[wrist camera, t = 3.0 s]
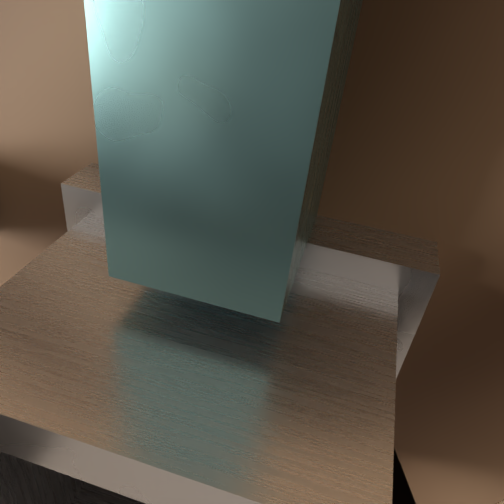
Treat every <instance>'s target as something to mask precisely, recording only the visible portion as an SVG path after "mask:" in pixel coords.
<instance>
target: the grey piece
mask: <svg viewBox="0 0 504 504" xmlns="http://www.w3.org/2000/svg"><path fill="white" fill-rule="evenodd" d="M362 1H363V0H84V6H85V17H86V29H87V40H88V51H89V62H90V73H91V84H92V96H93V107H94V118H95V129H96V140H97V151H98V162H99V165H98V164H94V163H91V164H89V165H88V166H86V167H85V168H83V169H82V170H80V171H79V172H77V173H76V174H74V175H73V176H71V177H70V178H68V179H67V180H65V181H64V182H62V183H61V189H62V196H63V203H64V210H65V217H66V224H67V232H66V233H65V234H64V235H63V236H61V237H60V238H59V239H58V240H56V241H55V242H54V243H53V244H52V245H50V246H49V247H48V248H47V249H46V250H44V251H43V252H42V253H41V254H39V255H38V256H37V257H36V258H35V259H33V260H32V261H31V262H30V263H28V264H27V265H26V266H25V267H24V268H22V269H21V270H20V271H19V272H18V273H16V274H15V275H14V276H13V277H11V278H10V279H9V280H8V281H7V282H5V283H4V284H3V285H2V286H0V504H392V494H393V459H394V424H395V389H396V378H397V376H398V373H399V371H400V369H401V366H402V364H403V362H404V359H405V357H406V355H407V352H408V350H409V347H410V345H411V343H412V340H413V338H414V336H415V333H416V331H417V329H418V326H419V324H420V321H421V319H422V317H423V314H424V312H425V310H426V307H427V305H428V303H429V300H430V298H431V295H432V293H433V291H434V288H435V286H436V284H437V281H438V279H439V277H440V268H439V258H438V248H437V242H434V241H430V240H426V239H421V238H417V237H412V236H408V235H404V234H399V233H395V232H391V231H386V230H382V229H378V228H373V227H369V226H364V225H360V224H356V223H351V222H347V221H343V220H338V219H334V218H330V217H325V216H321V215H317V213H318V208H319V203H320V198H321V194H322V189H323V184H324V180H325V175H326V170H327V166H328V161H329V156H330V151H331V147H332V142H333V137H334V133H335V128H336V123H337V119H338V114H339V109H340V104H341V100H342V95H343V90H344V86H345V81H346V76H347V72H348V67H349V62H350V57H351V53H352V48H353V43H354V39H355V34H356V29H357V25H358V20H359V15H360V10H361V6H362Z"/></svg>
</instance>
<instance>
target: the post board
mask: <svg viewBox="0 0 504 504" xmlns="http://www.w3.org/2000/svg"><path fill="white" fill-rule="evenodd" d="M91 163H94V164H98V165H99V162H98V151H97V140H96V129H95V118H94V107H93V96H92V84H91V73H90V62H89V51H88V40H87V29H86V17H85V6H84V0H0V286H2V285H3V284H4V283H5V282H7V281H8V280H9V279H10V278H11V277H13V276H14V275H15V274H16V273H18V272H19V271H20V270H21V269H22V268H24V267H25V266H26V265H27V264H28V263H30V262H31V261H32V260H33V259H35V258H36V257H37V256H38V255H39V254H41V253H42V252H43V251H44V250H46V249H47V248H48V247H49V246H50V245H52V244H53V243H54V242H55V241H56V240H58V239H59V238H60V237H61V236H63V235H64V234H65V233H66V232H67V224H66V217H65V210H64V203H63V196H62V189H61V183H62V182H64V181H65V180H67V179H68V178H70V177H71V176H73V175H74V174H76V173H77V172H79V171H80V170H82V169H83V168H85V167H86V166H88V165H89V164H91ZM317 215H321V216H325V217H330V218H334V219H338V220H343V221H347V222H351V223H356V224H360V225H364V226H369V227H373V228H378V229H382V230H386V231H391V232H395V233H399V234H404V235H408V236H412V237H417V238H421V239H426V240H430V241H434V242H437V248H438V258H439V268H440V277H439V279H438V281H437V284H436V286H435V288H434V291H433V293H432V295H431V298H430V300H429V303H428V305H427V307H426V310H425V312H424V314H423V317H422V319H421V321H420V324H419V326H418V329H417V331H416V333H415V336H414V338H413V340H412V343H411V345H410V347H409V350H408V352H407V355H406V357H405V359H404V362H403V364H402V366H401V369H400V371H399V373H398V376H397V378H396V389H395V424H394V448H395V450H396V453H397V456H398V458H399V461H400V463H401V466H402V469H403V471H404V474H405V476H406V479H407V481H408V484H409V487H410V489H411V492H412V494H413V497H414V500H415V502H416V504H497V503H499V502H501V501H503V500H504V0H363V1H362V6H361V10H360V15H359V20H358V25H357V29H356V34H355V39H354V43H353V48H352V53H351V57H350V62H349V67H348V72H347V76H346V81H345V86H344V90H343V95H342V100H341V104H340V109H339V114H338V119H337V123H336V128H335V133H334V137H333V142H332V147H331V151H330V156H329V161H328V166H327V170H326V175H325V180H324V184H323V189H322V194H321V198H320V203H319V208H318V213H317Z"/></svg>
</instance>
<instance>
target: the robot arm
mask: <svg viewBox="0 0 504 504" xmlns="http://www.w3.org/2000/svg"><path fill="white" fill-rule="evenodd" d="M392 504H416V502H415V500H414V497H413V494H412V492H411V489H410V487H409V484H408V481H407V479H406V476H405V474H404V471H403V469H402V466H401V463H400V461H399V458H398V456H397V453H396V450H395V448H394V459H393V494H392Z"/></svg>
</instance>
